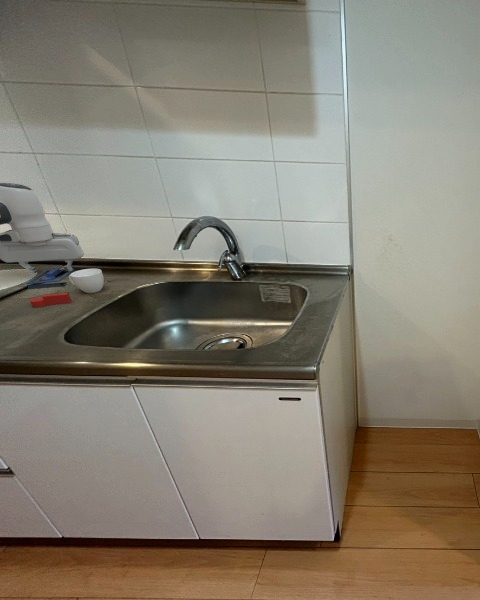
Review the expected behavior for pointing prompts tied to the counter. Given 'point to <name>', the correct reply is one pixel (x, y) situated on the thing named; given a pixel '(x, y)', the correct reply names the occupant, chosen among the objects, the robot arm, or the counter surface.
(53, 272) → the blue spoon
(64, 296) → the red stepped block
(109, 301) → the counter surface
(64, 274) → the dark blue open frame
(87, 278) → the cup
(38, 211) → the robot arm
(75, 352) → the counter surface
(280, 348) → the counter surface
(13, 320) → the counter surface
